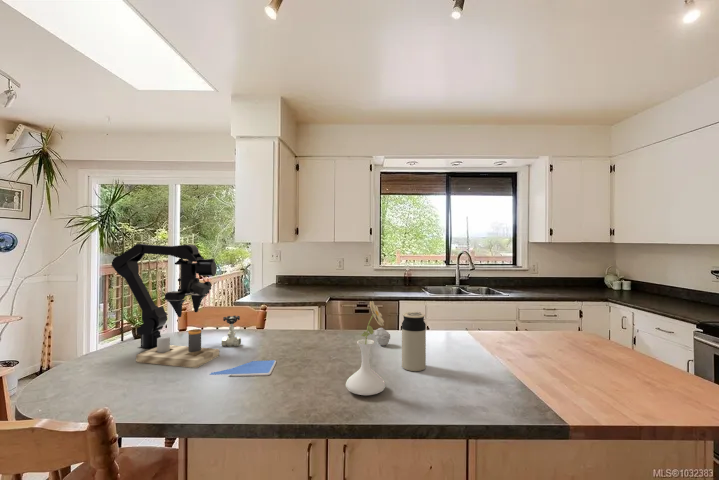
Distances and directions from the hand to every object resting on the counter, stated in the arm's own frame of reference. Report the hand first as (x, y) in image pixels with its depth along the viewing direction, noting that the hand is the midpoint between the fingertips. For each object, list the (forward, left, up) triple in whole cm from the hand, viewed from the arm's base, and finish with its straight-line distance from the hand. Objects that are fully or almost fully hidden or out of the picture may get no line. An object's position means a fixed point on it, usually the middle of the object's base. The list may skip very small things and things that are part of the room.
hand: (188, 314), depth 134 cm
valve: (+17, +4, -13) cm, 22 cm away
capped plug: (+14, -14, -9) cm, 22 cm away
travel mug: (+90, -2, -13) cm, 91 cm away
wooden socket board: (+8, -14, -13) cm, 21 cm away
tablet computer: (+35, -16, -14) cm, 41 cm away
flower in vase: (+78, -22, -13) cm, 82 cm away
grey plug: (+1, -14, -12) cm, 19 cm away
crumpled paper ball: (+76, +20, -13) cm, 80 cm away
